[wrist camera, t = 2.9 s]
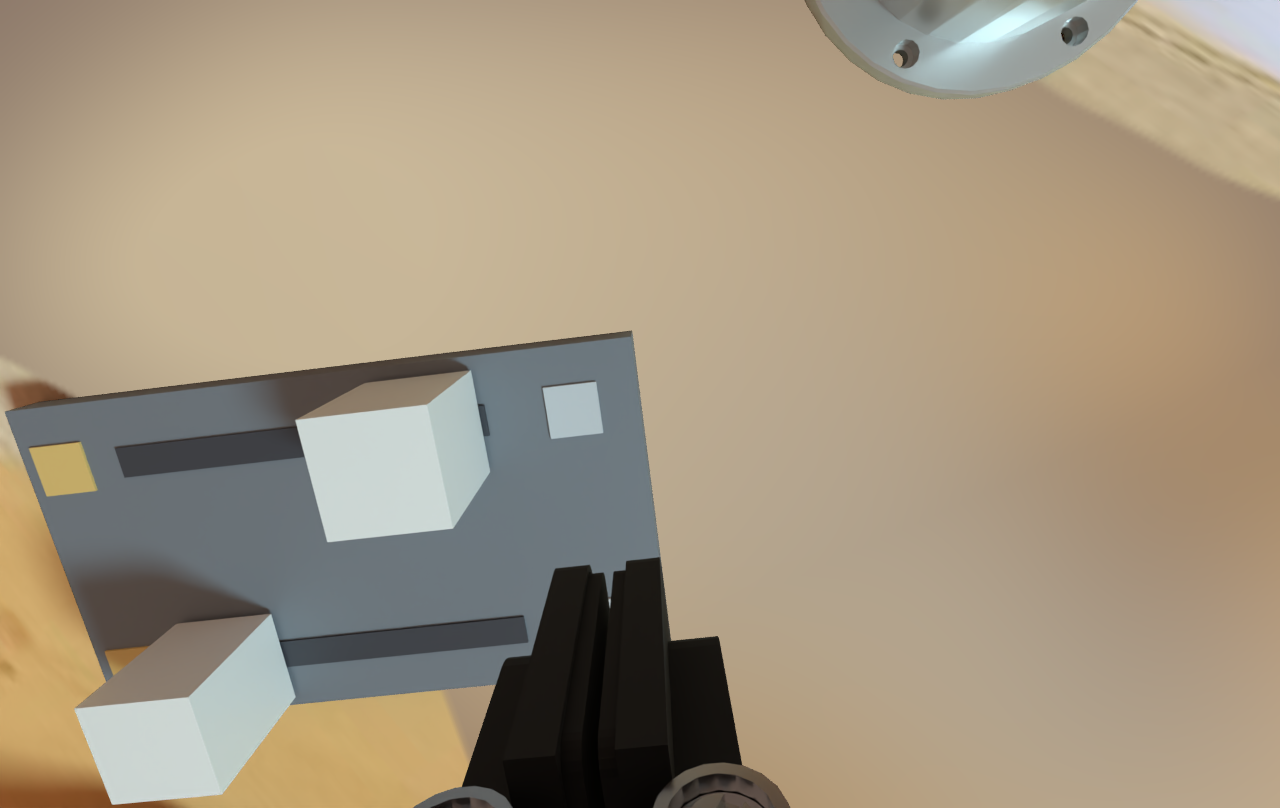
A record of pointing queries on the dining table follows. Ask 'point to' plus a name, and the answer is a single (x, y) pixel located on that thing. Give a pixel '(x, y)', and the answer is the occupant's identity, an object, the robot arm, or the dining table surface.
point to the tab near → (395, 456)
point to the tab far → (188, 710)
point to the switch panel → (292, 527)
